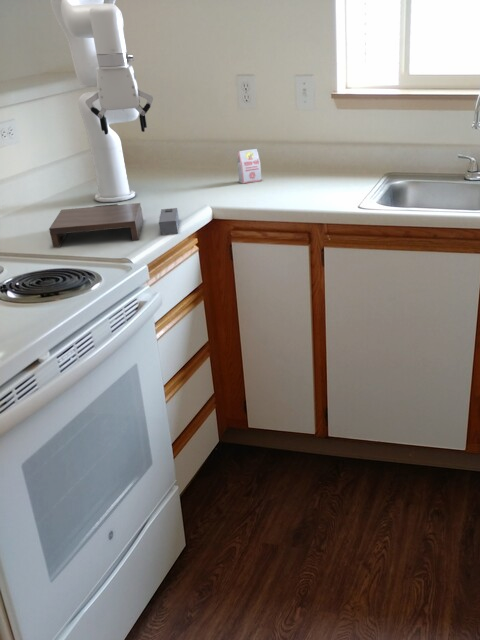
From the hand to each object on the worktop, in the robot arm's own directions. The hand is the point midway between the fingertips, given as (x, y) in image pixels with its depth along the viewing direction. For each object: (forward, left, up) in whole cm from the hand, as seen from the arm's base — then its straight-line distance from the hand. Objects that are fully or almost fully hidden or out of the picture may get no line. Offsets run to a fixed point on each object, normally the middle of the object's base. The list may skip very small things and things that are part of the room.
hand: (125, 132), depth 202 cm
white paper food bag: (-44, +33, -25) cm, 60 cm away
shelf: (+6, -11, -25) cm, 27 cm away
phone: (-14, -12, -25) cm, 30 cm away
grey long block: (+7, +8, -25) cm, 27 cm away
